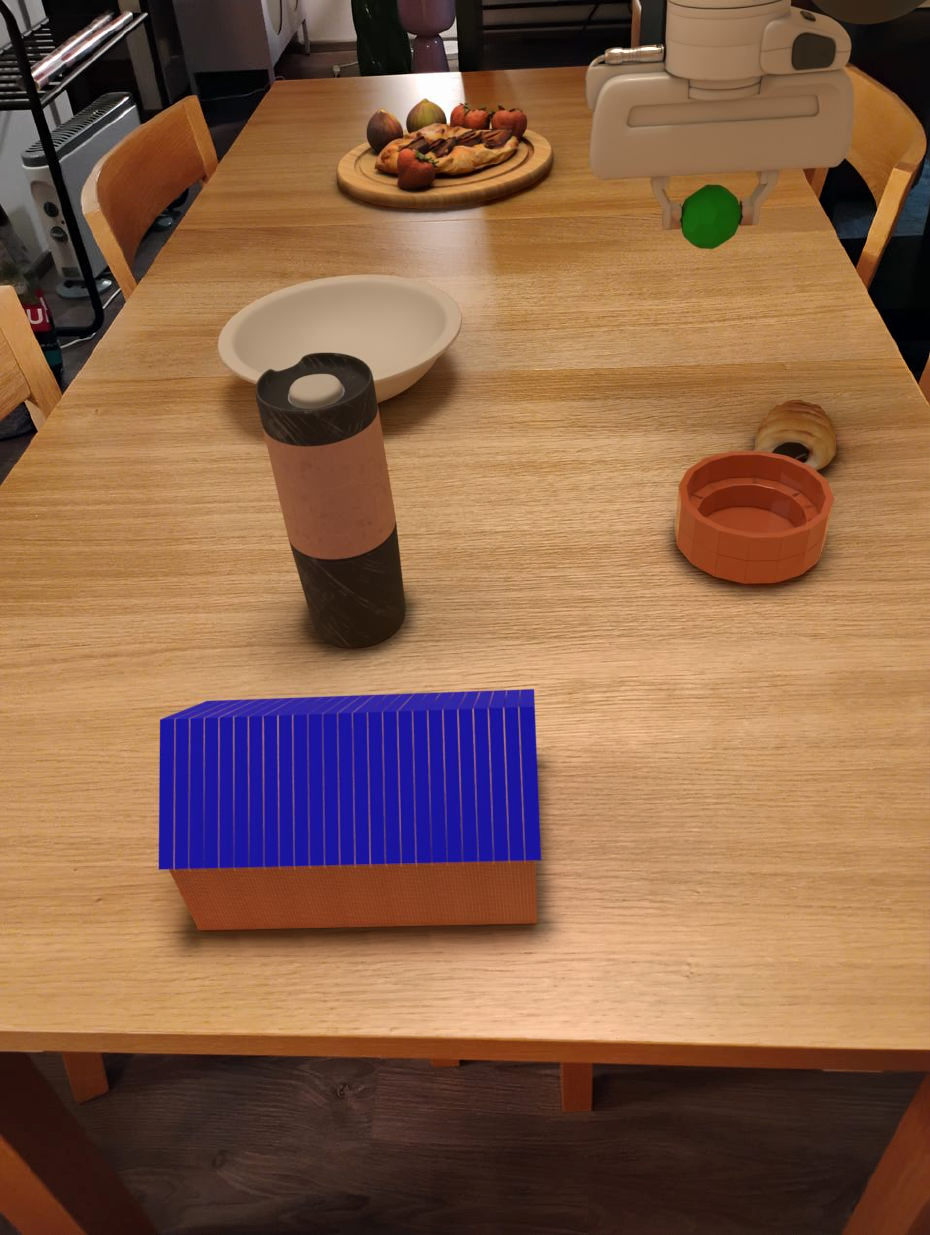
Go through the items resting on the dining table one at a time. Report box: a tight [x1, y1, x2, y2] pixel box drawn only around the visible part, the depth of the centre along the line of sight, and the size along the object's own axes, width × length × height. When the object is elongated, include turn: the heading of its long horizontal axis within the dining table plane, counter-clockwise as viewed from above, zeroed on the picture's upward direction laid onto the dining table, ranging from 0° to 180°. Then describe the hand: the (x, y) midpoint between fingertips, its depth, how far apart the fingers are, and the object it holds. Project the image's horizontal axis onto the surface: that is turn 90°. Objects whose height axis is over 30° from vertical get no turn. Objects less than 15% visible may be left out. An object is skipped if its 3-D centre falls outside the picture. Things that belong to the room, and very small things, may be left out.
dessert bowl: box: [674, 450, 835, 584], centre depth 77 cm, size 11×11×5 cm
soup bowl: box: [217, 273, 463, 404], centre depth 100 cm, size 24×24×7 cm
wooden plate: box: [335, 98, 555, 209], centre depth 144 cm, size 32×32×8 cm
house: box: [158, 688, 542, 931], centre depth 56 cm, size 12×20×12 cm, turn 89°
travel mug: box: [254, 353, 406, 649], centre depth 69 cm, size 8×8×20 cm
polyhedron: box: [681, 184, 741, 250], centre depth 83 cm, size 5×5×5 cm
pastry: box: [753, 399, 837, 471], centre depth 87 cm, size 9×7×4 cm
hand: (709, 225), depth 83 cm, fingers closed on polyhedron, 5 cm apart
